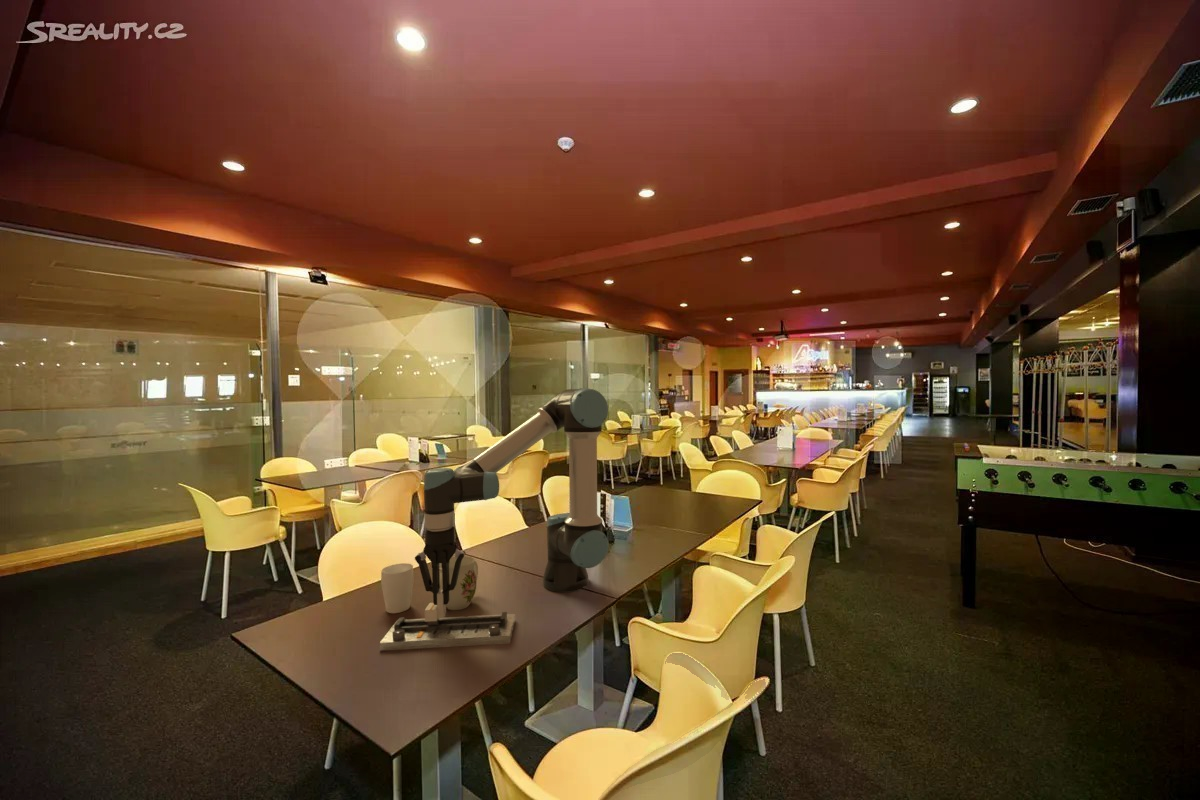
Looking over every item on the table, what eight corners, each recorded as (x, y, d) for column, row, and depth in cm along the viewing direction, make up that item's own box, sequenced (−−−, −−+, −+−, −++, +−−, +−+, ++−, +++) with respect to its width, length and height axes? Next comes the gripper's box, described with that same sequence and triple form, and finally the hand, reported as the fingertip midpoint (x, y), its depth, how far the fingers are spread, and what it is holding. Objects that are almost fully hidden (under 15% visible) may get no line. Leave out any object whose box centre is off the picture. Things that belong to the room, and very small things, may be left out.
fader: (441, 621, 126) (441, 601, 126) (436, 629, 122) (436, 609, 122) (430, 622, 126) (429, 602, 126) (425, 630, 122) (424, 609, 122)
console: (515, 620, 130) (514, 606, 130) (509, 643, 118) (509, 627, 118) (397, 627, 128) (397, 612, 128) (379, 650, 116) (379, 634, 116)
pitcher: (492, 594, 149) (491, 551, 149) (457, 619, 132) (455, 571, 132) (463, 590, 152) (462, 548, 152) (425, 614, 135) (424, 567, 135)
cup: (402, 616, 135) (401, 575, 135) (374, 614, 136) (373, 573, 136) (420, 603, 143) (419, 563, 143) (394, 601, 145) (393, 562, 145)
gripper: (467, 522, 128) (469, 608, 128) (419, 524, 127) (421, 611, 127) (461, 530, 121) (463, 621, 121) (410, 532, 120) (411, 624, 120)
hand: (441, 616), depth 124 cm, fingers closed
